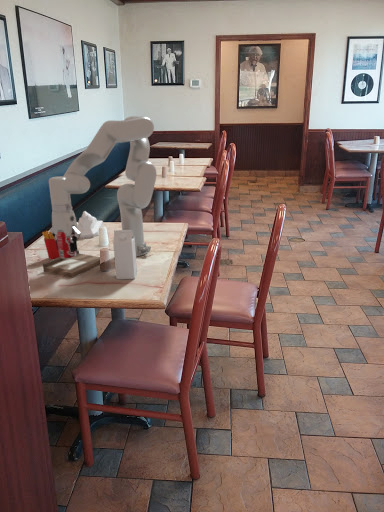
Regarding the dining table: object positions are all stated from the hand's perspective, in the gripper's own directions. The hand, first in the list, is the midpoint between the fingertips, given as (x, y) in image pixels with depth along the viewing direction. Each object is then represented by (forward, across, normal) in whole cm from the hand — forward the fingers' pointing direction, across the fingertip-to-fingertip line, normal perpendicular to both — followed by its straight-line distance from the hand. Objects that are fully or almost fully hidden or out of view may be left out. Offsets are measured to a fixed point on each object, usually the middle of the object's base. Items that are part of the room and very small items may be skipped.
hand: (67, 249), depth 185 cm
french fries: (+9, +17, -9) cm, 21 cm away
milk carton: (+9, -27, -4) cm, 29 cm away
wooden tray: (+9, 0, -3) cm, 9 cm away
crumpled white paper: (+9, +28, -43) cm, 52 cm away
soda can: (+4, 0, 0) cm, 4 cm away
